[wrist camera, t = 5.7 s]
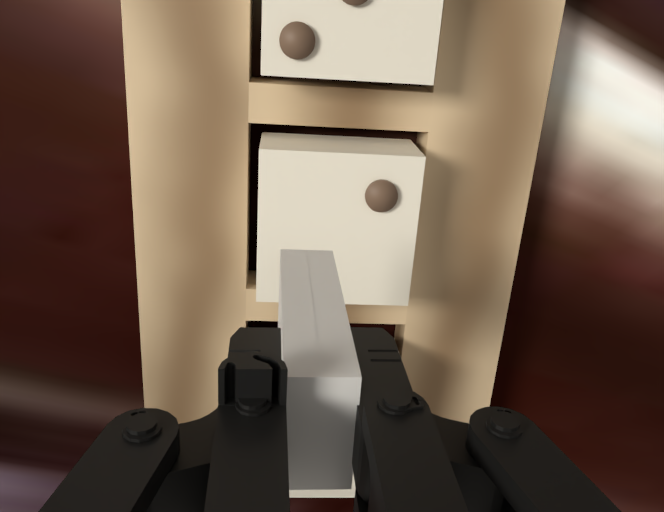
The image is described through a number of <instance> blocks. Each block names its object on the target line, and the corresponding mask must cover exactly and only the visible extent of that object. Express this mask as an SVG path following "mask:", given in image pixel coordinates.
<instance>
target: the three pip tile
mask: <svg viewBox="0 0 664 512" xmlns="http://www.w3.org/2000/svg"><path fill="white" fill-rule="evenodd" d="M443 1H444V0H262V27H261V75H263V76H281V77H298V78H315V79H333V80H350V81H367V82H385V83H402V84H419V85H434V76H435V68H436V60H437V51H438V43H439V35H440V26H441V18H442V10H443Z"/></svg>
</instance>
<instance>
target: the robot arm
mask: <svg viewBox="0 0 664 512" xmlns="http://www.w3.org/2000/svg"><path fill="white" fill-rule="evenodd" d="M353 474H354V480H355V486H356V489H355V499H354V510H353V512H621V511H620V510H619V509H618V508H617V507H616V506H615V505H614V504H613V503H612V502H611V501H610V500H609V499H608V498H607V497H606V496H605V495H604V494H603V493H602V492H601V490H600V489H599V488H598V487H597V486H596V485H595V484H594V483H593V482H592V481H591V480H590V479H589V478H588V477H587V476H586V475H585V474H584V473H583V472H582V471H581V470H580V469H579V468H578V467H577V466H576V465H575V464H574V463H573V462H572V461H571V460H570V459H569V458H568V457H567V456H566V455H565V454H564V453H563V452H562V451H561V450H560V449H559V448H558V447H557V446H556V445H555V444H554V443H553V442H552V441H551V440H550V439H549V438H548V437H547V436H546V435H545V434H544V433H543V432H542V431H541V430H540V429H539V428H538V427H537V426H536V425H535V423H534V422H532V421H531V420H530V419H528V418H527V417H526V416H524V415H523V414H521V413H519V412H516V411H514V410H512V409H508V408H503V407H484V408H481V409H478V410H476V411H475V412H474V413H473V414H472V415H471V416H470V420H469V423H465V422H460V421H455V420H450V419H447V418H443V417H440V416H438V415H435V414H433V413H431V410H430V407H429V405H428V404H427V402H426V401H425V399H424V398H423V397H422V396H420V395H419V394H417V393H416V392H414V391H413V390H412V387H411V384H410V382H409V379H408V376H407V373H406V370H405V367H404V365H403V362H402V359H401V356H400V353H399V352H398V348H397V345H396V342H395V339H394V338H393V337H392V336H391V335H390V334H389V333H388V332H387V331H385V330H384V329H383V328H363V327H350V324H349V320H348V315H347V311H346V307H345V302H344V298H343V294H342V289H341V285H340V281H339V276H338V272H337V268H336V263H335V259H334V255H333V251H329V250H292V249H280V276H279V306H278V328H259V327H240V328H239V329H238V330H237V331H236V332H235V333H234V334H233V335H232V336H231V337H230V343H229V352H228V358H226V359H225V360H223V361H222V362H221V364H220V366H219V368H218V407H217V408H216V409H215V410H214V411H213V412H211V413H210V414H208V415H206V416H204V417H202V418H200V419H197V420H193V421H190V422H185V423H180V424H178V421H177V419H176V417H174V416H173V415H172V414H171V413H169V412H167V411H164V410H161V409H157V408H140V409H135V410H130V411H127V412H125V413H123V414H121V415H119V416H117V417H115V418H114V419H113V420H112V421H111V422H110V423H108V424H107V426H106V427H105V428H104V429H103V431H102V432H101V433H100V434H99V436H98V437H97V438H96V440H95V441H94V442H93V443H92V445H91V446H90V447H89V448H88V450H87V451H86V452H85V453H84V455H83V456H82V457H81V459H80V460H79V461H78V462H77V464H76V465H75V466H74V467H73V469H72V470H71V471H70V472H69V474H68V475H67V476H66V478H65V479H64V480H63V481H62V483H61V484H60V485H59V486H58V488H57V489H56V490H55V492H54V493H53V494H52V495H51V497H50V498H49V499H48V500H47V502H46V503H45V504H44V505H43V507H42V508H41V509H40V511H39V512H290V500H289V490H335V489H351V488H352V477H353Z"/></svg>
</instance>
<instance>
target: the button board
mask: <svg viewBox="0 0 664 512" xmlns="http://www.w3.org/2000/svg"><path fill="white" fill-rule="evenodd" d="M565 1H566V0H444V1H443V10H442V18H441V26H440V35H439V43H438V51H437V60H436V68H435V76H434V85H423V86H409V85H391V84H374V83H357V82H339V81H322V80H304V79H287V78H270V77H252V19H253V0H121V11H122V28H123V45H124V63H125V80H126V97H127V114H128V132H129V149H130V166H131V183H132V201H133V218H134V235H135V252H136V270H137V287H138V304H139V321H140V339H141V356H142V373H143V390H144V408H157V409H161V410H164V411H167V412H169V413H171V414H172V415H173V416H174V417H176V419H177V421H178V424H180V423H185V422H190V421H193V420H197V419H200V418H202V417H204V416H206V415H208V414H210V413H211V412H213V411H214V410H215V409H216V408H217V407H218V368H219V366H220V364H221V362H222V361H223V360H225V359H226V358H228V352H229V343H230V337H231V336H232V335H233V334H234V333H235V332H236V331H237V330H238V329H239V328H240V327H248V321H278V306H279V302H256V271H255V270H249V222H250V154H251V123H260V124H279V125H299V126H318V127H338V128H358V129H377V130H397V131H416V132H418V133H417V141H416V146H417V148H418V149H419V150H420V151H421V152H422V153H423V154H424V155H425V157H426V161H425V169H424V177H423V185H422V194H421V202H420V210H419V219H418V227H417V235H416V243H415V252H414V260H413V268H412V276H411V285H410V293H409V301H408V306H395V305H358V304H345V307H346V311H347V315H348V320H349V323H366V324H396V326H395V335H394V339H395V342H396V345H397V348H398V351H399V353H400V356H401V359H402V362H403V365H404V367H405V370H406V373H407V376H408V379H409V382H410V384H411V387H412V390H413V391H414V392H416V393H417V394H419V395H420V396H422V397H423V398H424V399H425V401H426V402H427V404H428V405H429V407H430V410H431V413H433V414H435V415H438V416H440V417H443V418H447V419H450V420H455V421H460V422H465V423H469V420H470V416H471V415H472V414H473V413H474V412H475V411H476V410H478V409H481V408H484V407H490V401H491V396H492V391H493V385H494V380H495V375H496V369H497V364H498V359H499V353H500V348H501V343H502V337H503V332H504V326H505V321H506V316H507V310H508V305H509V300H510V294H511V289H512V284H513V278H514V273H515V268H516V262H517V257H518V252H519V246H520V241H521V236H522V230H523V225H524V220H525V214H526V209H527V204H528V198H529V193H530V188H531V182H532V177H533V172H534V166H535V161H536V156H537V150H538V145H539V140H540V134H541V129H542V124H543V118H544V113H545V108H546V102H547V97H548V92H549V86H550V81H551V76H552V70H553V65H554V60H555V54H556V49H557V44H558V38H559V33H560V28H561V22H562V17H563V12H564V6H565Z"/></svg>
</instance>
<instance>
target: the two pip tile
mask: <svg viewBox="0 0 664 512" xmlns="http://www.w3.org/2000/svg"><path fill="white" fill-rule="evenodd" d="M425 161H426V157H425V155H424V154H423V153H422V152H421V151H420V150H419V149H418V148H417V146H416V145H415V144H414V143H413V142H412V141H411V140H410V139H391V138H371V137H351V136H331V135H311V134H292V133H272V132H262V135H261V140H260V146H259V169H258V219H257V270H256V302H279V276H280V249H292V250H329V251H333V255H334V259H335V263H336V268H337V272H338V276H339V281H340V285H341V289H342V294H343V298H344V302H345V304H358V305H395V306H408V301H409V293H410V285H411V276H412V268H413V260H414V252H415V243H416V235H417V227H418V219H419V210H420V202H421V194H422V185H423V177H424V169H425Z"/></svg>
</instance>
